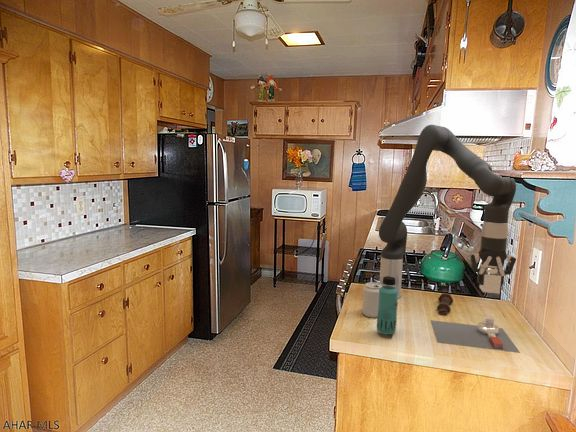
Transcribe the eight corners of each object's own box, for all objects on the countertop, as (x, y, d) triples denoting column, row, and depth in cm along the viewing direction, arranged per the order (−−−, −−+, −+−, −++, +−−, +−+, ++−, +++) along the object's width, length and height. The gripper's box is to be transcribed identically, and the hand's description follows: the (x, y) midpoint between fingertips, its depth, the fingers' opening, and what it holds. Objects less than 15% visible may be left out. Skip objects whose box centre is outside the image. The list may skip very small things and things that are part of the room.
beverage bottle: (376, 337, 125) (380, 279, 123) (375, 329, 132) (378, 273, 129) (397, 339, 125) (401, 281, 122) (394, 330, 131) (397, 275, 128)
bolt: (440, 321, 145) (443, 307, 158) (453, 317, 142) (455, 303, 156) (432, 307, 145) (436, 294, 158) (445, 303, 143) (448, 290, 156)
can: (380, 319, 140) (382, 288, 138) (360, 316, 143) (362, 286, 141) (382, 312, 147) (384, 282, 145) (363, 309, 150) (364, 280, 148)
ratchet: (486, 347, 119) (488, 331, 118) (475, 327, 134) (476, 313, 133) (509, 350, 118) (511, 334, 117) (495, 329, 132) (496, 315, 131)
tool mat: (437, 344, 122) (437, 342, 122) (430, 322, 139) (430, 320, 139) (520, 355, 116) (520, 352, 116) (502, 330, 133) (502, 328, 133)
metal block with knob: (482, 292, 125) (485, 268, 124) (479, 287, 130) (481, 264, 129) (499, 293, 124) (501, 269, 123) (495, 288, 129) (497, 266, 128)
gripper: (514, 234, 127) (510, 283, 129) (468, 232, 130) (464, 280, 132) (522, 238, 119) (517, 290, 122) (473, 236, 123) (468, 286, 125)
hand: (489, 284), depth 127 cm, fingers closed on metal block with knob, 5 cm apart
